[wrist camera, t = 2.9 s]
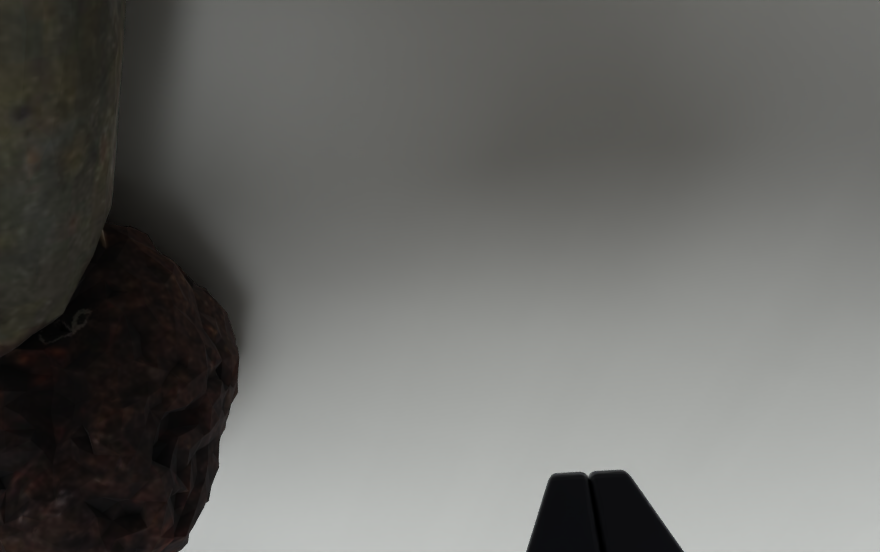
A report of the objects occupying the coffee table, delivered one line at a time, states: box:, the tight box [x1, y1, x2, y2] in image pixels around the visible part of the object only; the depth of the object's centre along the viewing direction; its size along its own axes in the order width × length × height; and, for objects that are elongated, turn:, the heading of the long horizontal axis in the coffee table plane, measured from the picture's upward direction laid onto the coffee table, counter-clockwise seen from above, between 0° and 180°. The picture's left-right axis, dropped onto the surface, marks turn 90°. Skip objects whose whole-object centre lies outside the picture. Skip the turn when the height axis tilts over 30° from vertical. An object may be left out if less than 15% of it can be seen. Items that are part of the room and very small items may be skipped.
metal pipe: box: [0, 0, 239, 552], centre depth 12 cm, size 18×7×6 cm, turn 164°
